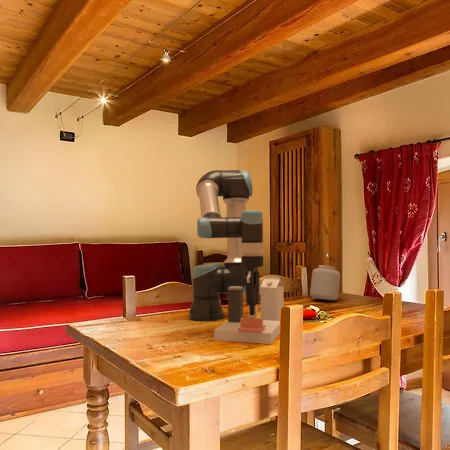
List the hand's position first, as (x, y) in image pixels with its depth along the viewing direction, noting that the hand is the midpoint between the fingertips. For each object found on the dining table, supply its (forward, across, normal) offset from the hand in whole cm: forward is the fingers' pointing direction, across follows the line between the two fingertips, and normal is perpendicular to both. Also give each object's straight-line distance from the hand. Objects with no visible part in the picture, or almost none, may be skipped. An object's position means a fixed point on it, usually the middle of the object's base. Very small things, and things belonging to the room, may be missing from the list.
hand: (253, 324), depth 146 cm
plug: (+2, -13, -10) cm, 17 cm away
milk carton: (+6, -28, +1) cm, 29 cm away
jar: (+6, -92, +17) cm, 94 cm away
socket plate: (+6, -7, -3) cm, 9 cm away
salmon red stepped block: (+2, +1, 0) cm, 2 cm away
